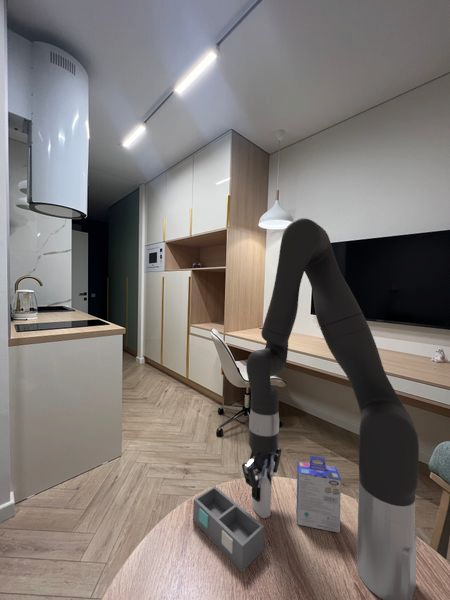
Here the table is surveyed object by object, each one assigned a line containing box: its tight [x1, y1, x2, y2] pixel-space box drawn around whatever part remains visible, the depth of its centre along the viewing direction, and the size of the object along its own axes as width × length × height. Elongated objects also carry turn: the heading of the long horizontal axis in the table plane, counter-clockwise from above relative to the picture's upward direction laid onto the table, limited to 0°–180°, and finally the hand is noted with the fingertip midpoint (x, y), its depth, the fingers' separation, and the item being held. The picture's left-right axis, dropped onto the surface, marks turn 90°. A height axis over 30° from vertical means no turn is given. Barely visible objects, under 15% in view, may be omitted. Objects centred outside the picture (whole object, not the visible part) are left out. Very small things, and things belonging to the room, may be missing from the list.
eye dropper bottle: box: [251, 468, 272, 519], centre depth 64 cm, size 4×6×12 cm
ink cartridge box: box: [295, 455, 342, 534], centre depth 62 cm, size 10×6×14 cm, turn 78°
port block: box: [192, 485, 265, 573], centre depth 57 cm, size 16×7×5 cm, turn 44°
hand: (261, 494), depth 65 cm, fingers closed on eye dropper bottle, 3 cm apart
